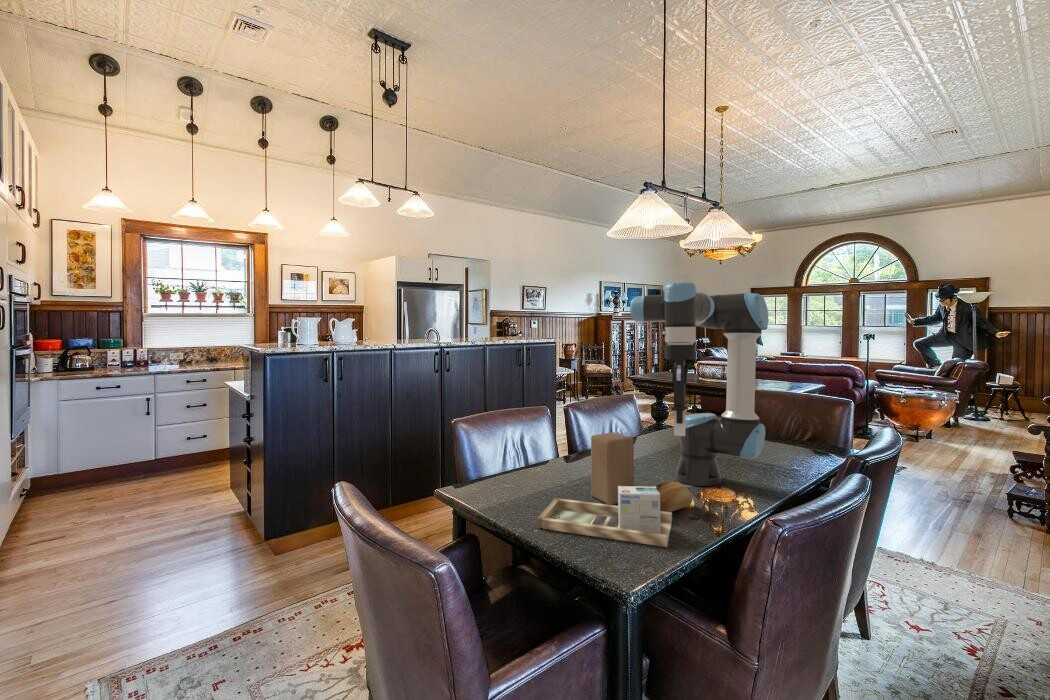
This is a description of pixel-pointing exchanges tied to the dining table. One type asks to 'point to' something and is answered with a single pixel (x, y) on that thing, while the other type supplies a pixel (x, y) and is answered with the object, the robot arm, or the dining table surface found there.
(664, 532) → the birch trough
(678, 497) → the bread roll
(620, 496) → the light bulb box
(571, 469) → the dining table surface
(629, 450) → the block
